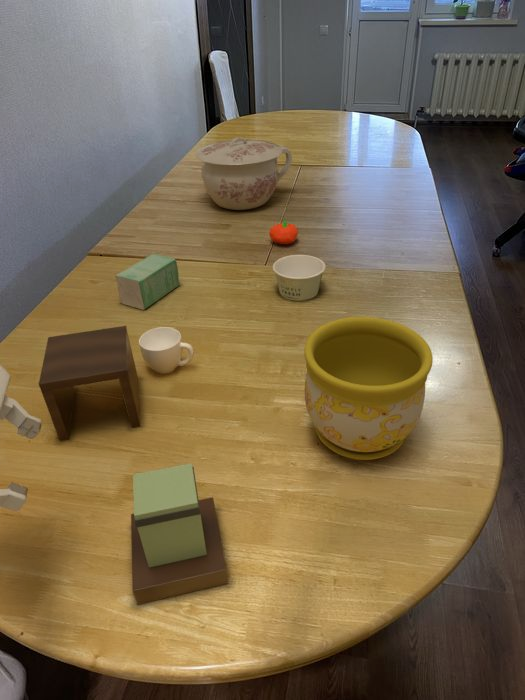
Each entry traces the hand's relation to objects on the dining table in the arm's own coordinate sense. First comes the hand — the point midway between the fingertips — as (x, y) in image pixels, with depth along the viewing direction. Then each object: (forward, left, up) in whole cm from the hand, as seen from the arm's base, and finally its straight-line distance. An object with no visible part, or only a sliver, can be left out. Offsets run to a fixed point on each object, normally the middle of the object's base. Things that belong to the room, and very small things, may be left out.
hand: (31, 462), depth 52 cm
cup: (+39, +19, -21) cm, 48 cm away
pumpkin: (+99, +29, -21) cm, 105 cm away
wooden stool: (+24, +22, -21) cm, 39 cm away
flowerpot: (+41, -19, -21) cm, 50 cm away
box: (+59, +42, -21) cm, 75 cm away
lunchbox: (+9, -8, -18) cm, 22 cm away
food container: (+77, +12, -21) cm, 81 cm away
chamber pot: (+120, +57, -21) cm, 134 cm away
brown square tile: (+9, -8, -21) cm, 24 cm away
